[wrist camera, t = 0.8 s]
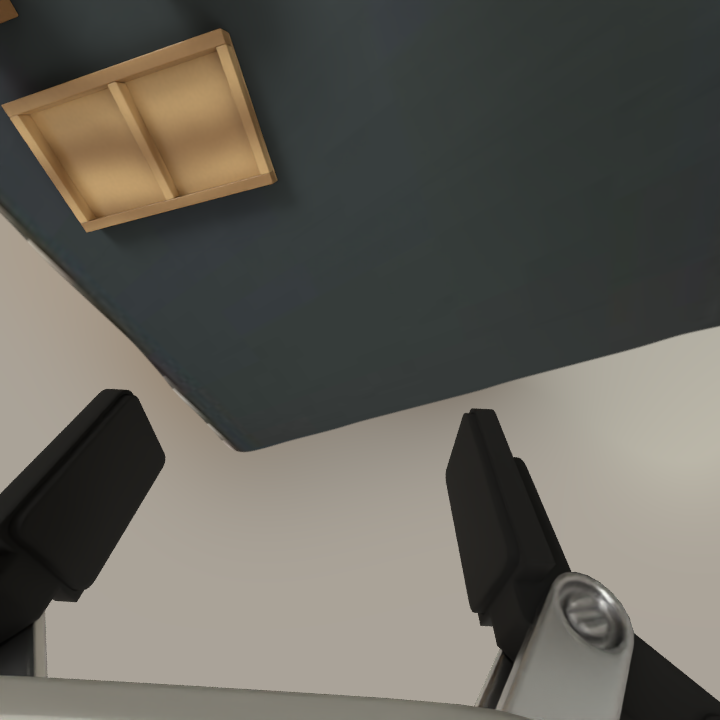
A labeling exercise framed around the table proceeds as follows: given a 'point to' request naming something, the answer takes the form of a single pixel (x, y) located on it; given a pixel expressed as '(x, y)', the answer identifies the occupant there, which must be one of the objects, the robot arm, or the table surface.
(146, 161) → the wooden divided tray
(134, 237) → the table surface
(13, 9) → the pad sage
